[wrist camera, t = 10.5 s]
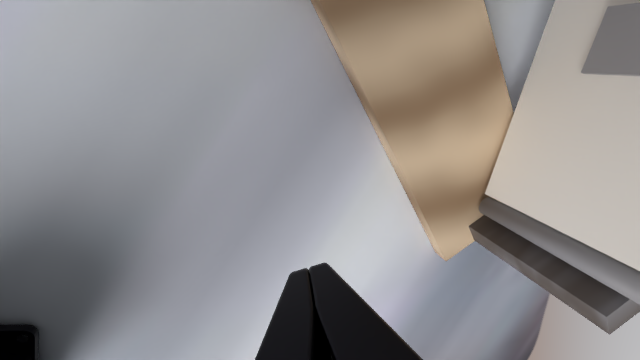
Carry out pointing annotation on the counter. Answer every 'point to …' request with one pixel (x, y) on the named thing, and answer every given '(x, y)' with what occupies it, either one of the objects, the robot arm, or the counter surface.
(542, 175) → the door
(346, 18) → the door base
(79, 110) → the counter surface
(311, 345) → the robot arm
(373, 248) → the counter surface
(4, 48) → the counter surface
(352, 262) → the counter surface
